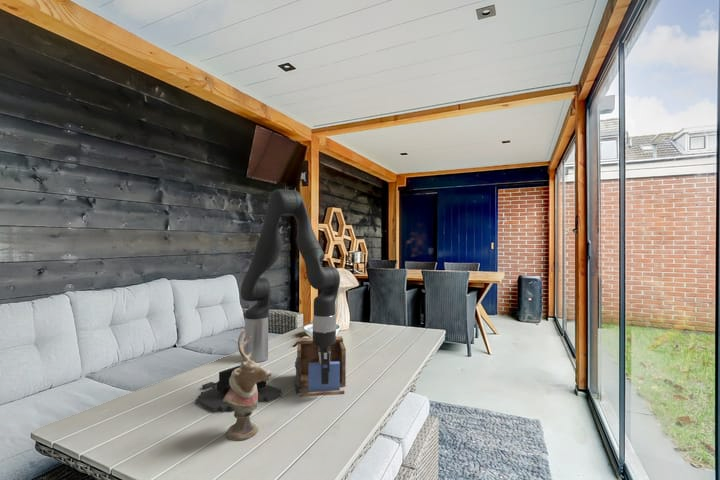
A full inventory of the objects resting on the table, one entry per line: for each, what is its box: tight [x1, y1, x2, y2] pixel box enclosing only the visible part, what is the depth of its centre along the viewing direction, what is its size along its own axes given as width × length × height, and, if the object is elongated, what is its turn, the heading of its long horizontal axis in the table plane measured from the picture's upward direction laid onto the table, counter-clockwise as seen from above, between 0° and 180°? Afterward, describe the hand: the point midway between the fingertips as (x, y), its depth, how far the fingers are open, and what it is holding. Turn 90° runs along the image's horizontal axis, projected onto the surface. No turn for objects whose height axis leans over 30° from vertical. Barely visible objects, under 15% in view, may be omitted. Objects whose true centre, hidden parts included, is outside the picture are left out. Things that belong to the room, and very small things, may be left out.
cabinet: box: [294, 335, 347, 397], centre depth 120 cm, size 17×18×14 cm
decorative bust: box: [223, 330, 272, 441], centre depth 90 cm, size 11×13×25 cm
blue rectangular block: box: [307, 361, 341, 392], centre depth 114 cm, size 10×2×9 cm, turn 99°
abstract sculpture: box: [195, 365, 282, 414], centre depth 111 cm, size 25×9×20 cm
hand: (324, 378), depth 114 cm, fingers open, 8 cm apart
